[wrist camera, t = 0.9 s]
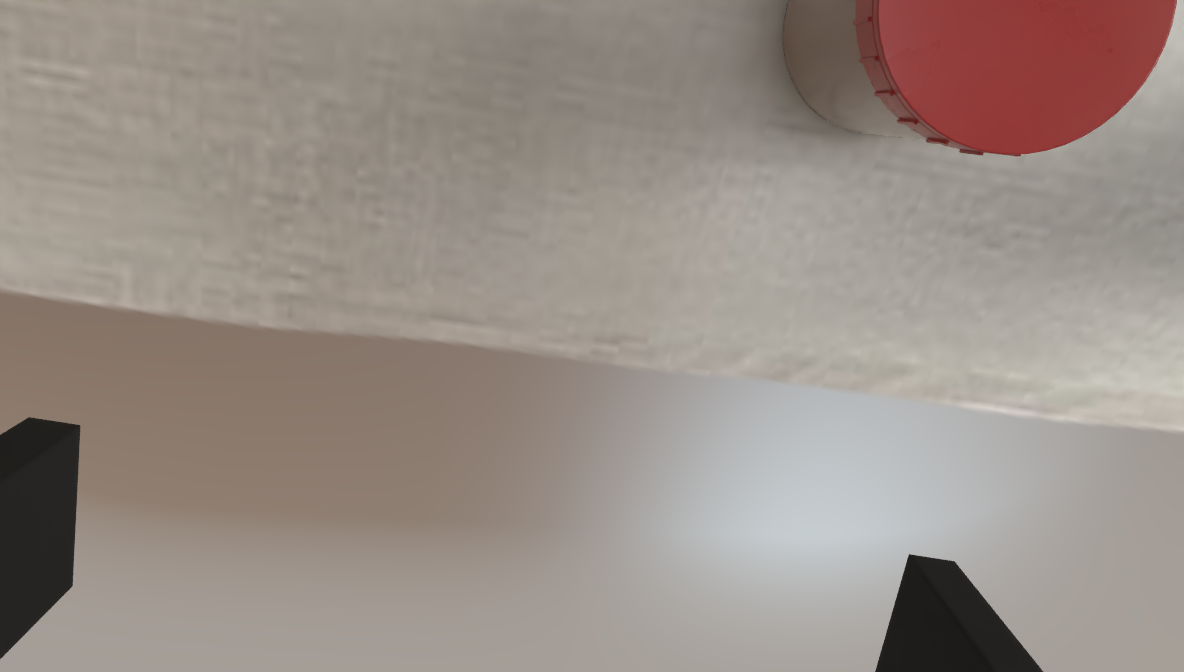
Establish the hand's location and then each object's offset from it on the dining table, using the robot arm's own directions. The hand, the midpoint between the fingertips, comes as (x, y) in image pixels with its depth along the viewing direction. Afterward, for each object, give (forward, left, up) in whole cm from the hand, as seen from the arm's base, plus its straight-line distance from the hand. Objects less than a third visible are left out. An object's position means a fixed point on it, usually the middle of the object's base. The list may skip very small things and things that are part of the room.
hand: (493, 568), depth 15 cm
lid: (+2, +15, -11) cm, 19 cm away
